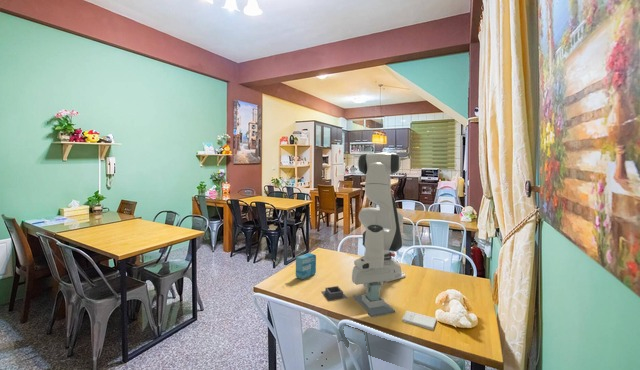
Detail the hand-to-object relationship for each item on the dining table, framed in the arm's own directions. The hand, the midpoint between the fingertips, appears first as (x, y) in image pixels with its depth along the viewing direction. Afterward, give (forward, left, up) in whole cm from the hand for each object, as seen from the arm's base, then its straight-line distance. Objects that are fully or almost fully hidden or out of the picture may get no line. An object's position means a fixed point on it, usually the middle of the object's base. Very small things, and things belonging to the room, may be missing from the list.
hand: (373, 290), depth 133 cm
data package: (+20, -41, -7) cm, 46 cm away
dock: (0, 0, -7) cm, 7 cm away
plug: (0, 0, -4) cm, 4 cm away
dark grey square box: (+14, -13, -7) cm, 20 cm away
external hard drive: (-12, +17, -8) cm, 23 cm away
